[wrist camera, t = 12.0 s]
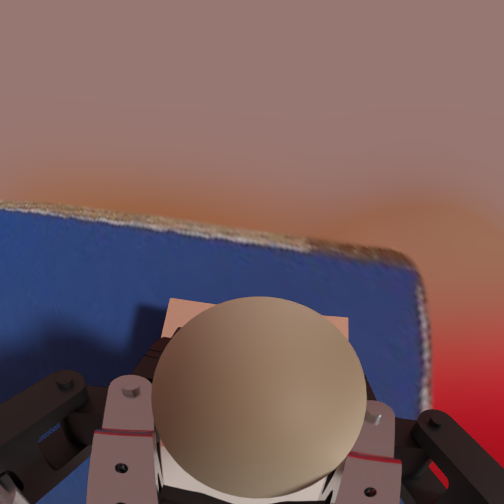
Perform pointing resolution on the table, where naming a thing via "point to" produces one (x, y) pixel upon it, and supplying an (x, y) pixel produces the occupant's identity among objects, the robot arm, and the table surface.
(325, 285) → the table surface
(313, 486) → the dock board
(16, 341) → the table surface
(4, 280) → the table surface
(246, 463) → the peg
